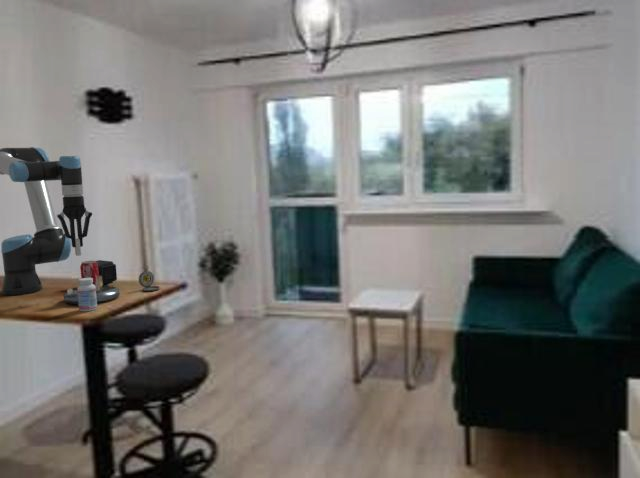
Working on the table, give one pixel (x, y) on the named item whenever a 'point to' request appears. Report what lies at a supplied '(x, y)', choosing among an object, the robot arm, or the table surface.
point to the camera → (107, 272)
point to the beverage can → (90, 272)
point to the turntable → (101, 295)
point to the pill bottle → (87, 295)
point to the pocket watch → (147, 280)
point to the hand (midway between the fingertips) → (78, 255)
